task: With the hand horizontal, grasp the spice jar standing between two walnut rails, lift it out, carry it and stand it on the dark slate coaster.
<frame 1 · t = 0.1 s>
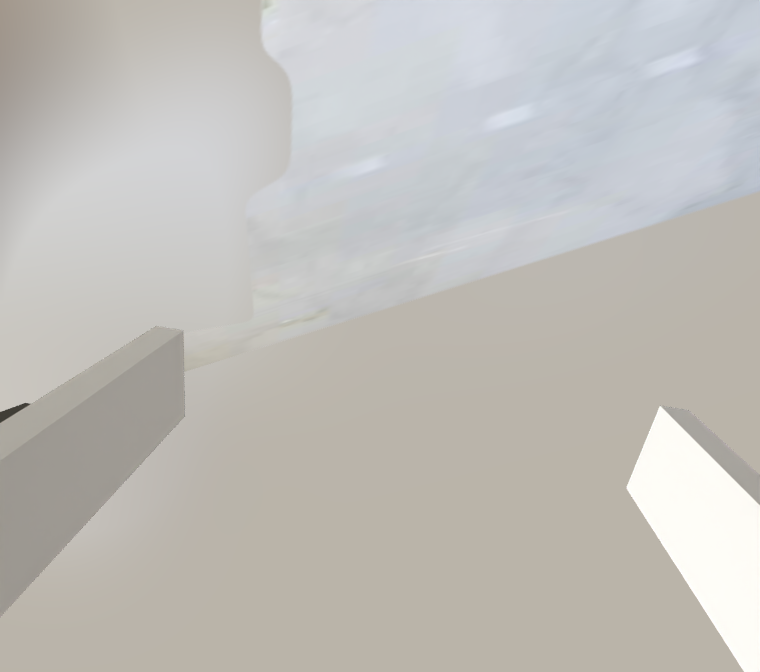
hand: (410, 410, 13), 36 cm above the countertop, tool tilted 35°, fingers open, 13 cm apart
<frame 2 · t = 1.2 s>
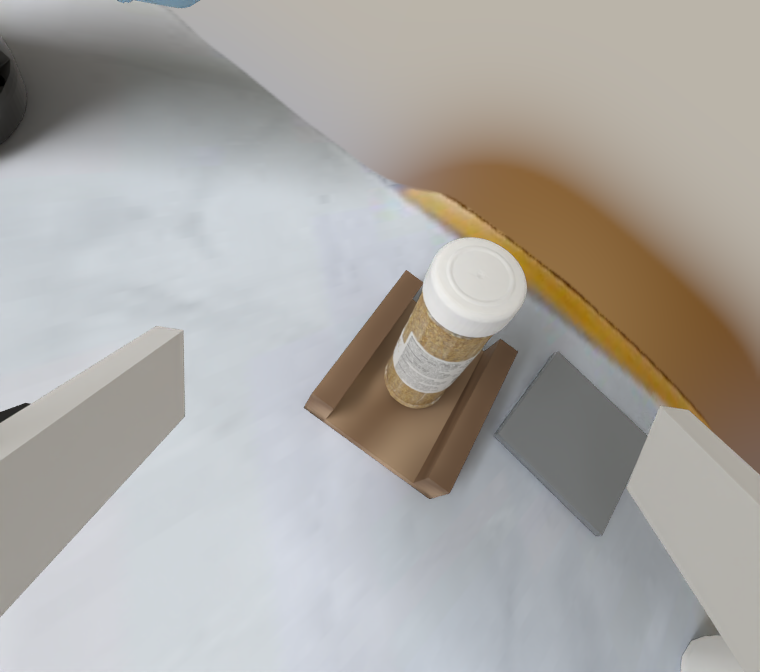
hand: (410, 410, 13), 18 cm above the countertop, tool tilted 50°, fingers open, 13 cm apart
slate coaster: (572, 437, 36), on the countertop
spice jar: (413, 381, 32), point 1 cm above the countertop, touching walnut cradle
walnut cradle: (409, 385, 33), on the countertop
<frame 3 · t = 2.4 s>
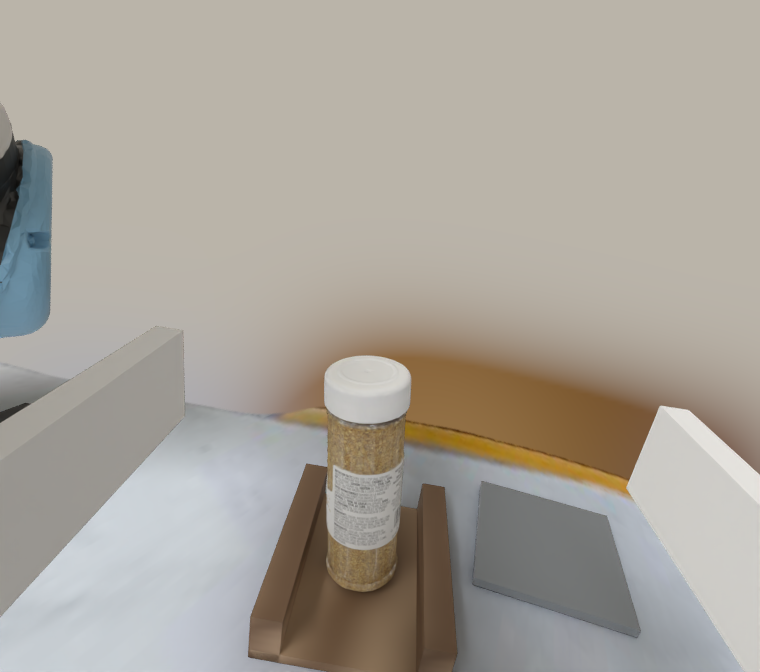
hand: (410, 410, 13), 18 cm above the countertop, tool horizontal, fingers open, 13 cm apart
slate coaster: (545, 549, 33), on the countertop
spice jar: (361, 566, 29), point 1 cm above the countertop, touching walnut cradle
walnut cradle: (360, 574, 29), on the countertop
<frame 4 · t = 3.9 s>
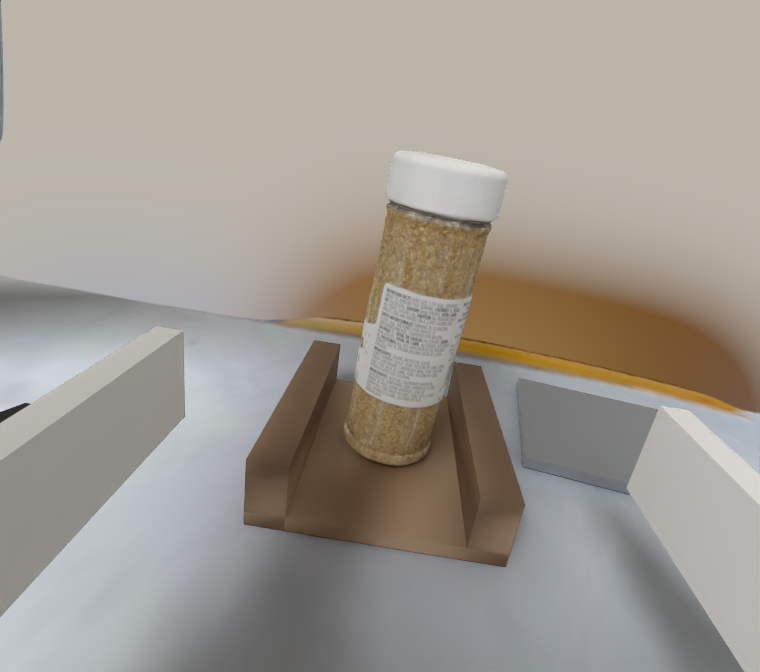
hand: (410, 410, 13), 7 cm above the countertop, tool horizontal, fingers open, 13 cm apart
slate coaster: (603, 439, 27), on the countertop
spice jar: (385, 443, 23), point 1 cm above the countertop, touching walnut cradle
walnut cradle: (383, 453, 23), on the countertop
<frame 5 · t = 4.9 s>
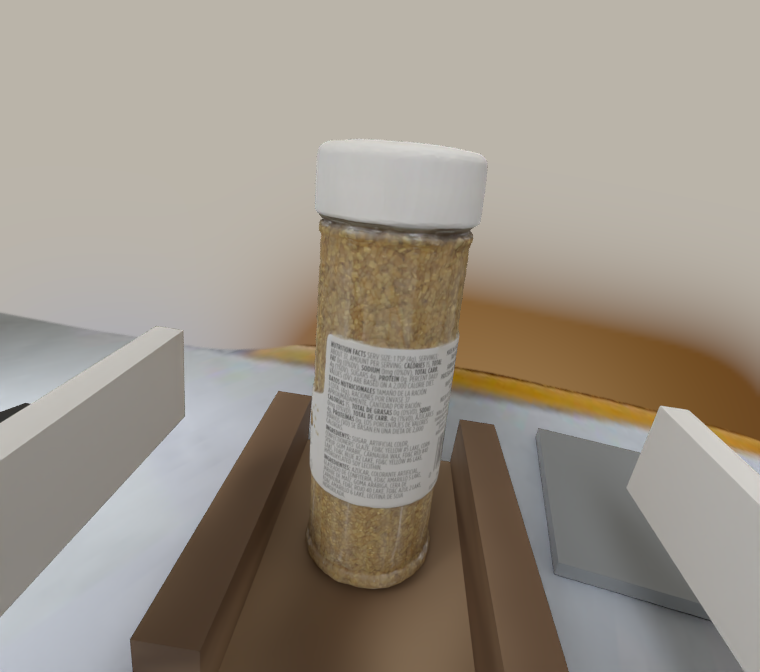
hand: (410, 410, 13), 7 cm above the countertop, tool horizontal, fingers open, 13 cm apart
slate coaster: (653, 520, 21), on the countertop
spice jar: (366, 547, 17), point 1 cm above the countertop, touching walnut cradle
walnut cradle: (364, 559, 17), on the countertop
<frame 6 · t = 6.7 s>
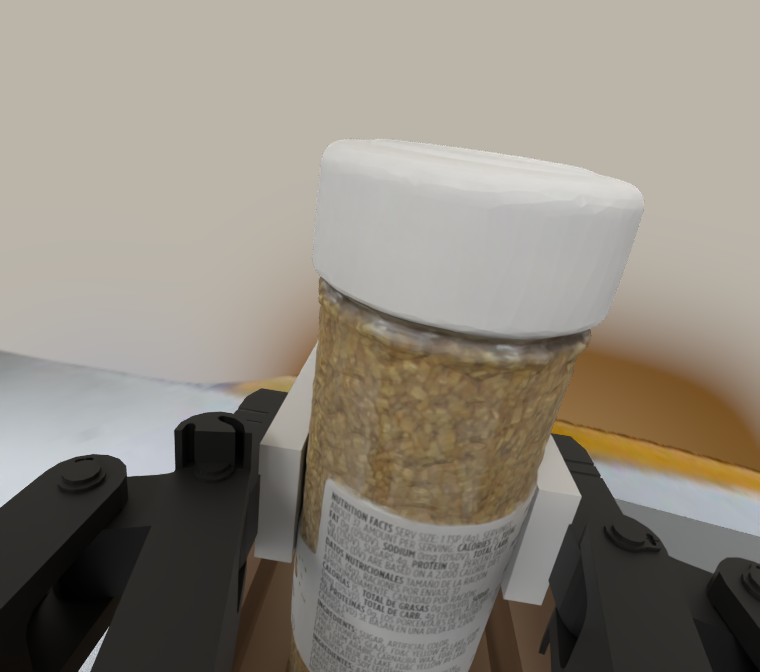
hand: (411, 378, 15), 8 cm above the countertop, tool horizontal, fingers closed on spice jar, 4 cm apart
slate coaster: (734, 625, 17), on the countertop
when the fingers open (9 cm above the countertop, at t = 11.3 s): spice jar drops 2 cm, resting on slate coaster.
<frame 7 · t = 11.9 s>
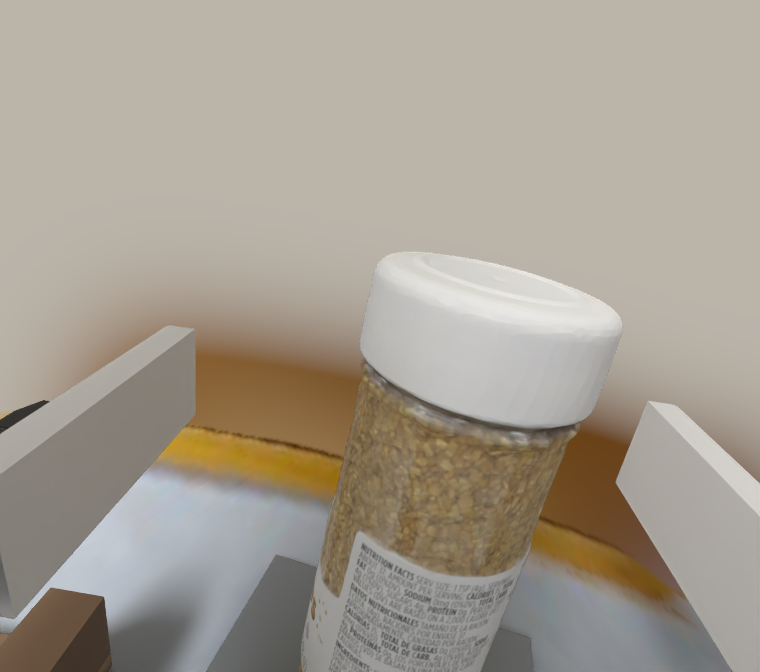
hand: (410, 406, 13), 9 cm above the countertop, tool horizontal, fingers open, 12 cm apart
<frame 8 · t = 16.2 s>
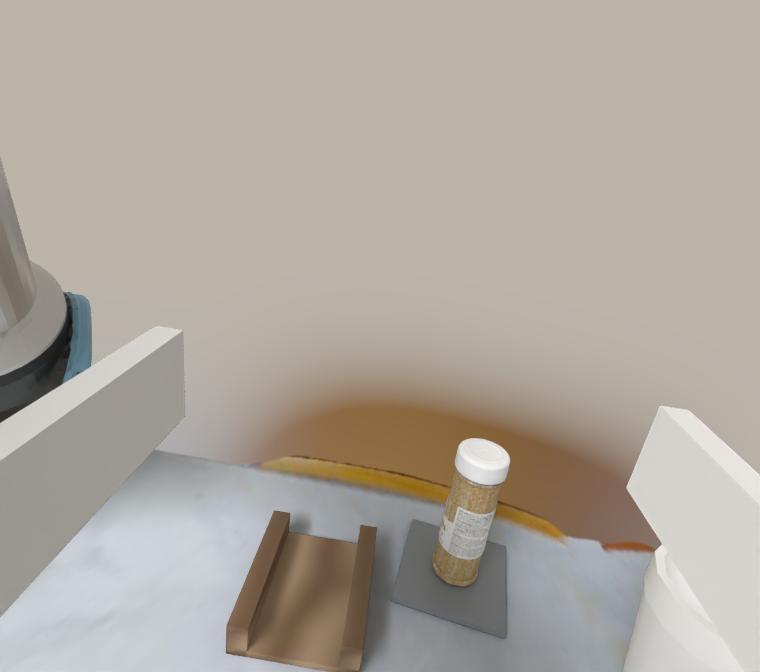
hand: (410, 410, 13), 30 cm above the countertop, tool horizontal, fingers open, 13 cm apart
slate coaster: (452, 573, 44), on the countertop
spice jar: (453, 570, 44), resting on slate coaster
walnut cradle: (309, 595, 40), on the countertop
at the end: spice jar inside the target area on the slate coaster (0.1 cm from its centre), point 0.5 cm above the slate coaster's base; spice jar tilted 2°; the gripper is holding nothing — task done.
